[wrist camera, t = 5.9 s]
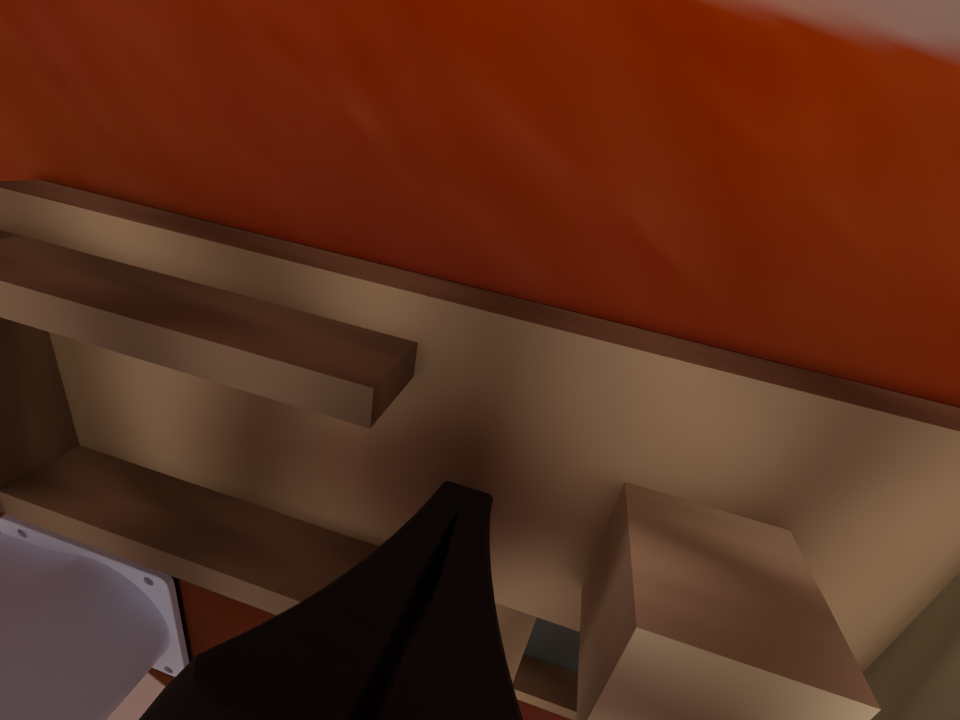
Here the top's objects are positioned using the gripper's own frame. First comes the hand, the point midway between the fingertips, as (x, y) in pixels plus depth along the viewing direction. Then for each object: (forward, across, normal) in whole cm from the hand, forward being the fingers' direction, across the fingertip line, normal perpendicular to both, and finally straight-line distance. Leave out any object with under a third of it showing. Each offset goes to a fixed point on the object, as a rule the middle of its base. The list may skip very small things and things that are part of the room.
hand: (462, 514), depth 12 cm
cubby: (+1, +9, 0) cm, 9 cm away
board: (+2, +1, +1) cm, 3 cm away
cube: (+1, -6, 0) cm, 6 cm away
